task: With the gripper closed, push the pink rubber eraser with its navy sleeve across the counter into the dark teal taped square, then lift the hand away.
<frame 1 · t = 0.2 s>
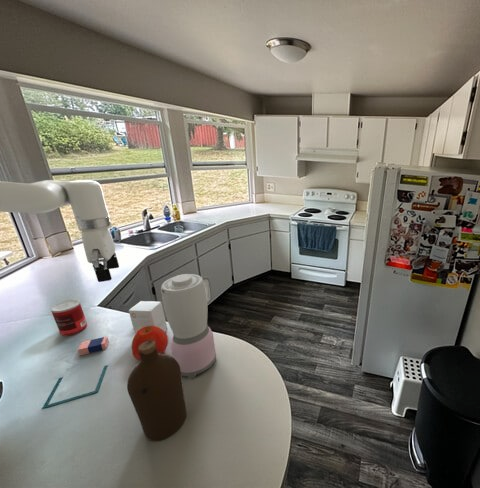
hand: (109, 274, 81), 28 cm above the table, tool pointing down, fingers open, 9 cm apart
apple: (152, 354, 87), on the table
blender: (200, 360, 85), on the table
small box: (152, 335, 95), on the table
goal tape: (78, 384, 74), on the table
eraser: (95, 348, 88), on the table
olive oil: (166, 422, 65), on the table
canned food: (74, 329, 97), on the table
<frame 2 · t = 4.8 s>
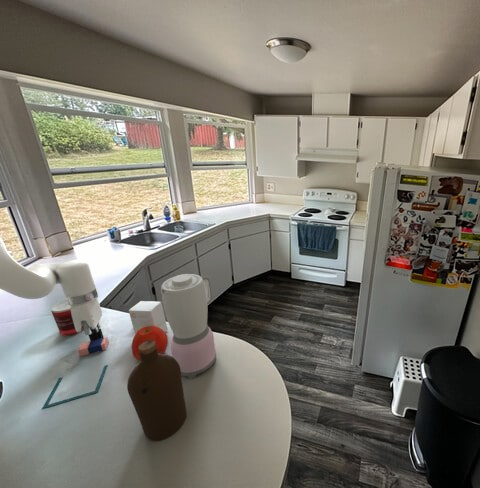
hand: (97, 339, 90), 1 cm above the table, tool pointing down, fingers closed
eraser: (94, 349, 87), on the table, touching gripper
everything else where it was.
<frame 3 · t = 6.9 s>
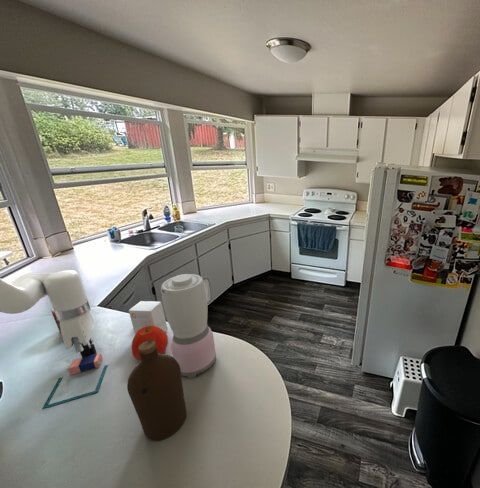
hand: (90, 356, 83), 1 cm above the table, tool pointing down, fingers closed
eraser: (87, 366, 80), on the table, touching gripper
everything else where it was.
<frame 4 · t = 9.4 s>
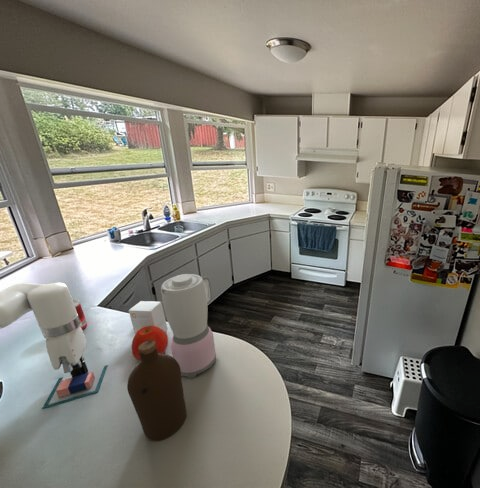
hand: (80, 375, 76), 1 cm above the table, tool pointing down, fingers closed
eraser: (77, 387, 73), on the table, touching gripper
everything else where it was.
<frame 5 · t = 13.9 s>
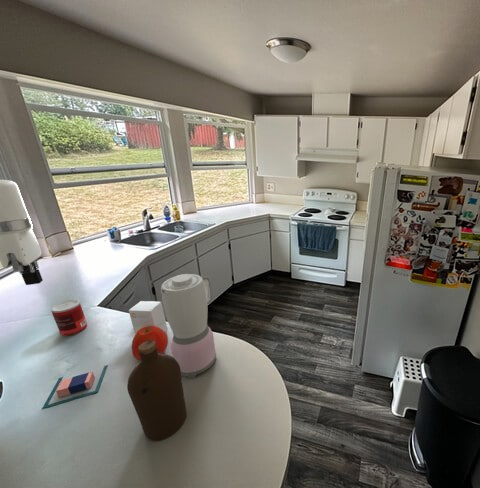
hand: (34, 282, 76), 27 cm above the table, tool pointing down, fingers closed
eraser: (77, 387, 73), on the table
everything else where it was.
at the end: eraser inside the target area (1.1 cm from its centre), on the table; eraser tilted 0° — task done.
